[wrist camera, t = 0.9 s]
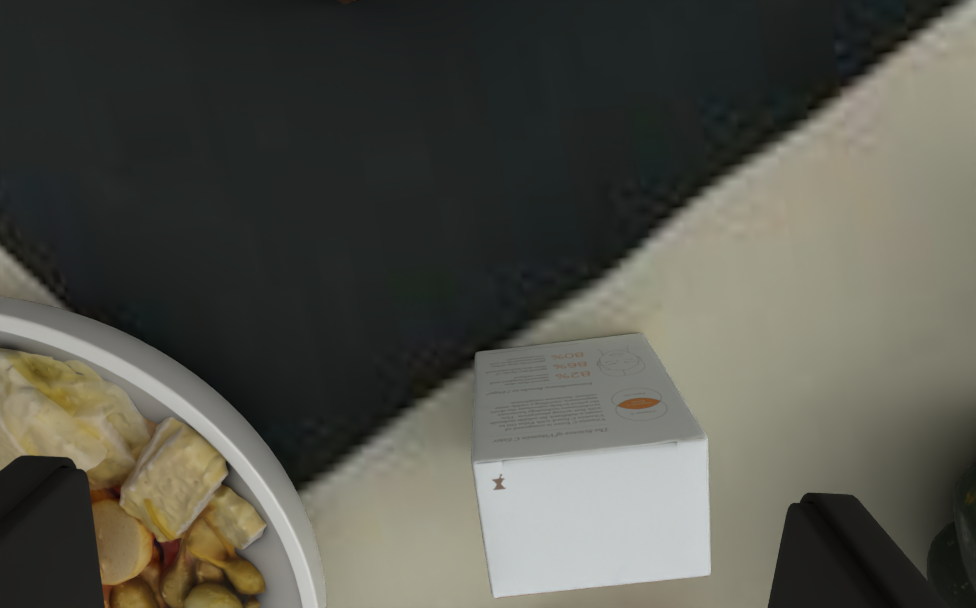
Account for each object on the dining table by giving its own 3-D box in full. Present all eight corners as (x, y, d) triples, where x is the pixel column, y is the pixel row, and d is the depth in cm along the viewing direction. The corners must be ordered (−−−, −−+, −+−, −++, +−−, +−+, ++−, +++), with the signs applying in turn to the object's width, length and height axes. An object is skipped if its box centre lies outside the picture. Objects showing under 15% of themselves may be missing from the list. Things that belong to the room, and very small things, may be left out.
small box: (487, 454, 36) (485, 603, 26) (473, 347, 34) (465, 463, 24) (652, 437, 35) (715, 582, 25) (646, 329, 34) (711, 437, 24)
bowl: (-350, 289, 33) (-594, 351, 26) (300, 253, 33) (242, 306, 25) (-142, 783, 42) (-279, 935, 35) (371, 764, 42) (344, 915, 34)
